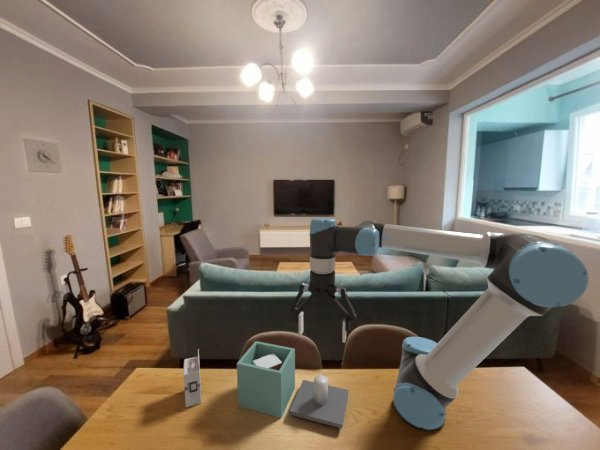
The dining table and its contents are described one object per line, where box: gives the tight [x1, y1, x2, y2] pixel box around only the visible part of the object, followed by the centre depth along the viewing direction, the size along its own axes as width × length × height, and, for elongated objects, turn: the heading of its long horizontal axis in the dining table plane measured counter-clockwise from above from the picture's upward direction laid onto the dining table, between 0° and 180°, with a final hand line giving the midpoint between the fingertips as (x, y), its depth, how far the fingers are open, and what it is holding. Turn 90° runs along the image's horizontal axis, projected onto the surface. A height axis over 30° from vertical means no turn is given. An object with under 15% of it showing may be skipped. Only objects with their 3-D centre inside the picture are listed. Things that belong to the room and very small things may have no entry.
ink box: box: [183, 348, 202, 408], centre depth 89 cm, size 8×5×15 cm, turn 22°
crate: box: [236, 340, 296, 419], centre depth 89 cm, size 15×13×15 cm
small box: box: [253, 353, 282, 370], centre depth 90 cm, size 8×6×13 cm
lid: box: [289, 374, 350, 429], centre depth 85 cm, size 16×14×10 cm
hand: (322, 336), depth 82 cm, fingers open, 13 cm apart
